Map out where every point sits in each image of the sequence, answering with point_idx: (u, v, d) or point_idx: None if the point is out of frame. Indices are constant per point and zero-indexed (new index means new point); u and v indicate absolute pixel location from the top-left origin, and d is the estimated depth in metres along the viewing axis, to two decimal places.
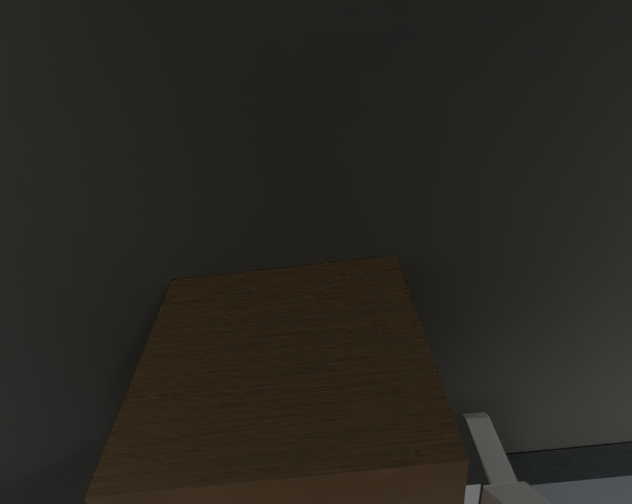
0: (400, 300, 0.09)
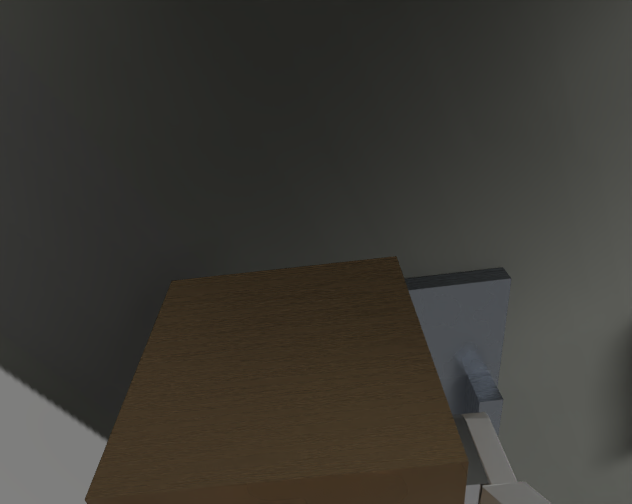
0: (400, 301, 0.09)
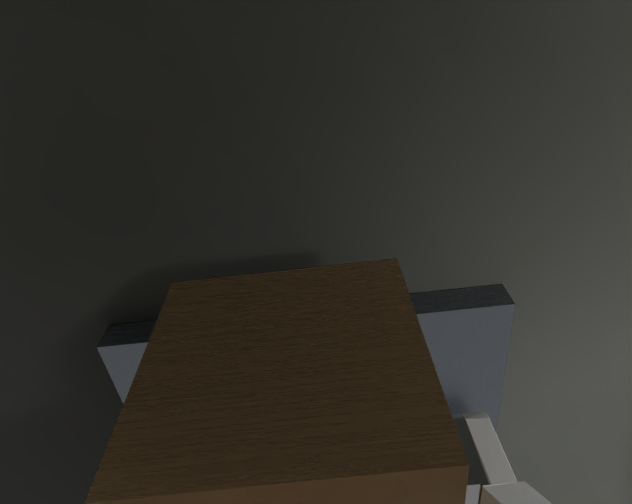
0: (400, 303, 0.09)
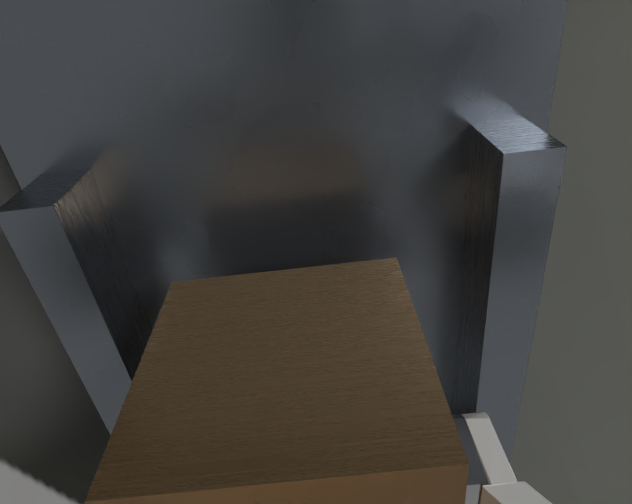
0: (400, 302, 0.09)
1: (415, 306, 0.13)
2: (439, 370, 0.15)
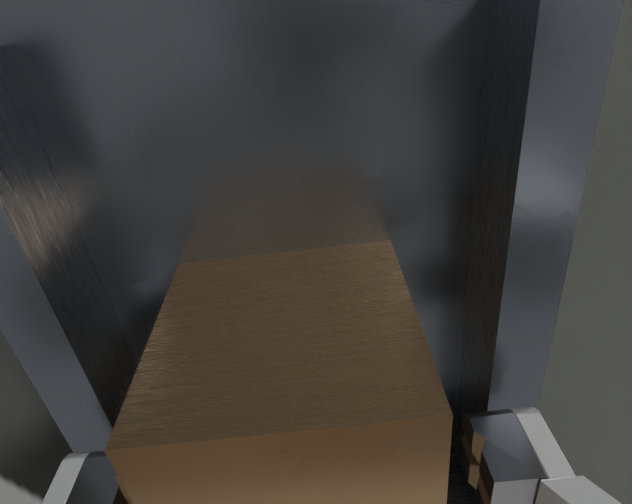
0: (393, 280, 0.09)
1: (418, 243, 0.11)
2: (446, 327, 0.12)
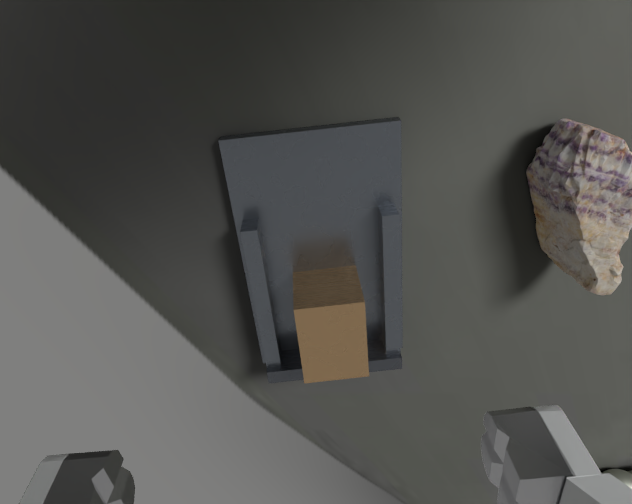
0: (355, 276, 0.35)
1: (363, 266, 0.37)
2: (374, 293, 0.38)
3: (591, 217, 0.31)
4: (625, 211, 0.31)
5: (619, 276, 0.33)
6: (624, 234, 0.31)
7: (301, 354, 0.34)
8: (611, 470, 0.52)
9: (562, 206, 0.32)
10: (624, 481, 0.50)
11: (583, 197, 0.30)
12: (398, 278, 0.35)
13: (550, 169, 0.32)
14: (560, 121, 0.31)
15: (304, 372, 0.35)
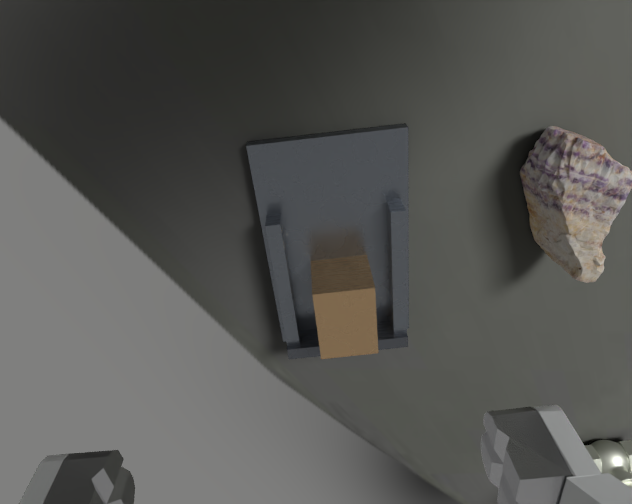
0: (366, 264, 0.40)
1: (374, 255, 0.41)
2: (383, 279, 0.42)
3: (575, 214, 0.35)
4: (606, 208, 0.34)
5: (602, 265, 0.37)
6: (605, 229, 0.35)
7: (318, 333, 0.39)
8: (600, 441, 0.56)
9: (550, 204, 0.36)
10: (612, 450, 0.55)
11: (568, 197, 0.34)
12: (405, 266, 0.39)
13: (539, 172, 0.36)
14: (548, 129, 0.34)
15: (321, 349, 0.40)
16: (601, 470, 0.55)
